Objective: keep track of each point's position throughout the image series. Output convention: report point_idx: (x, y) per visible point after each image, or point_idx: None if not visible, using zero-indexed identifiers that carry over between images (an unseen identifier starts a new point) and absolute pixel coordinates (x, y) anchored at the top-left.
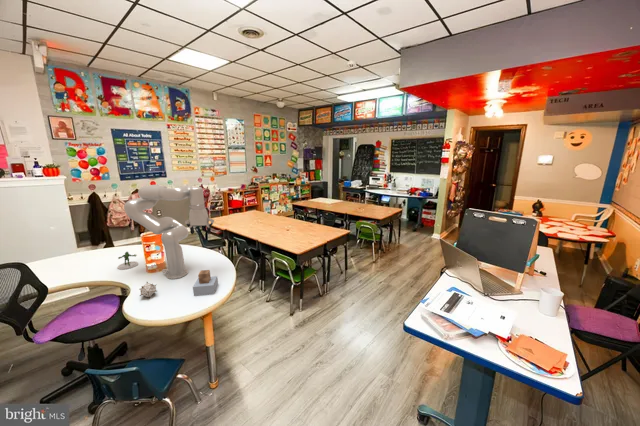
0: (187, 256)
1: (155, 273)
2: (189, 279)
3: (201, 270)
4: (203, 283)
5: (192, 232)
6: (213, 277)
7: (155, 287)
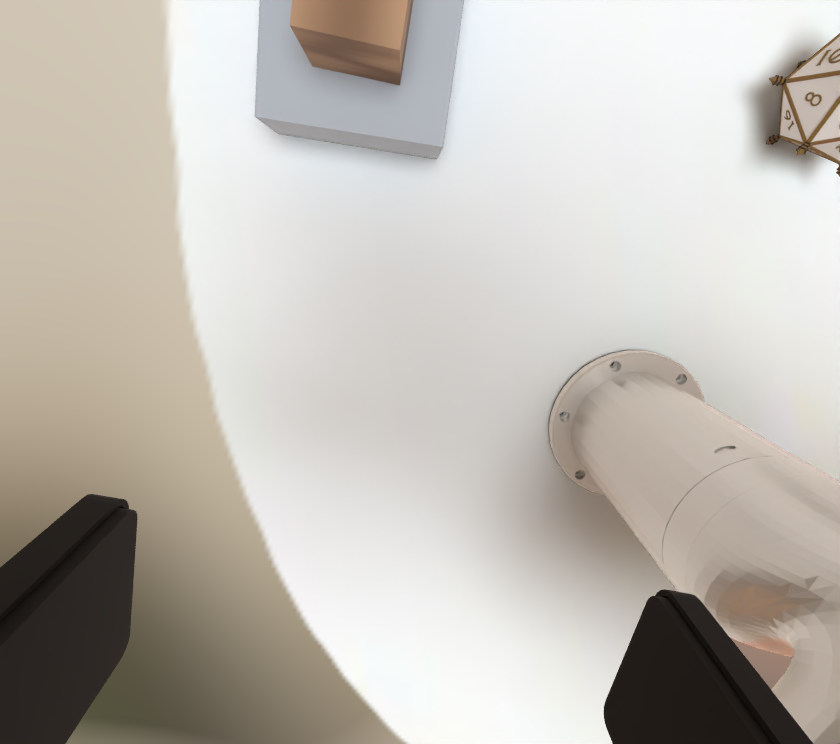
0: (575, 706)
1: None
2: (526, 311)
3: (392, 42)
4: None
5: (683, 646)
6: (289, 93)
7: (798, 119)
